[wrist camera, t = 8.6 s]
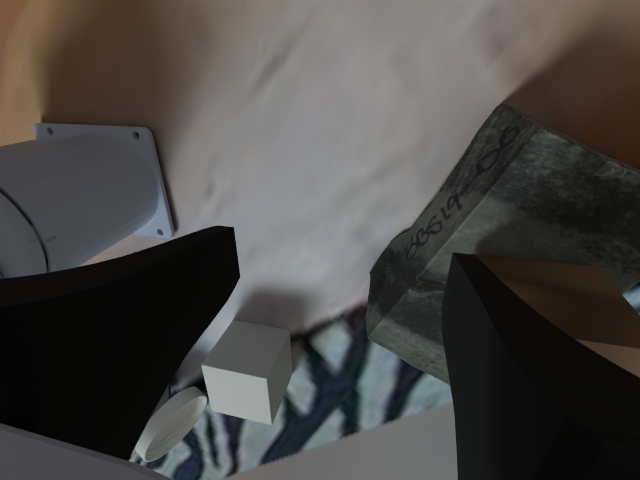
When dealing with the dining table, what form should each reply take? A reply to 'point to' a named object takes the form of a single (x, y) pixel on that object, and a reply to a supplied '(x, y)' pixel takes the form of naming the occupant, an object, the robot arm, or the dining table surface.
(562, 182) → the stone block
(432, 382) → the dining table surface
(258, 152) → the dining table surface
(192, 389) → the spread jar
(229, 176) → the dining table surface
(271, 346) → the grey cube
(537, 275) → the walnut cube
